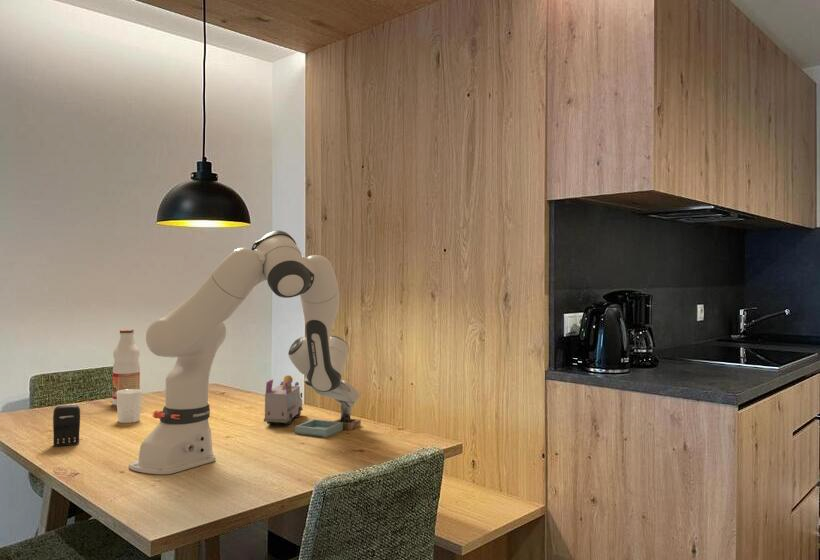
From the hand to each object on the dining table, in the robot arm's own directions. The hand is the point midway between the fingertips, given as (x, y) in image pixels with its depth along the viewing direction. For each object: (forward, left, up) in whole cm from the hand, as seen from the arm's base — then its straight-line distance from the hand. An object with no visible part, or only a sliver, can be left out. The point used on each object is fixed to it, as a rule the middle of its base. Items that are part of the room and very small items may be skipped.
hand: (347, 404), depth 214 cm
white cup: (-26, +69, -8) cm, 74 cm away
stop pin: (-1, 0, -6) cm, 6 cm away
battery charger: (-56, +62, -8) cm, 84 cm away
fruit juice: (-6, +91, -8) cm, 91 cm away
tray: (-11, +4, -7) cm, 14 cm away
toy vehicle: (-3, +23, -8) cm, 24 cm away
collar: (-1, 0, -7) cm, 7 cm away
